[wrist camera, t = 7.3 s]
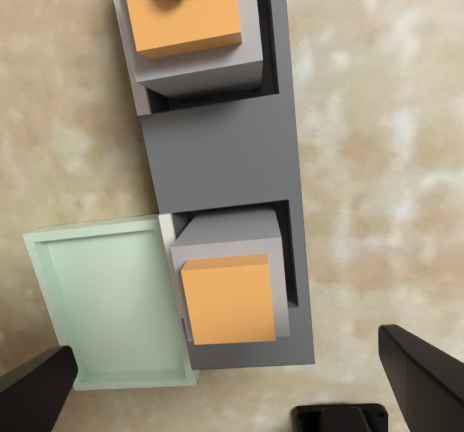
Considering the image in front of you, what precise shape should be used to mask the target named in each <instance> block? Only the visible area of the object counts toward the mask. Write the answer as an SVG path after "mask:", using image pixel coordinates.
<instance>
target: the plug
mask: <svg viewBox="0 0 464 432" xmlns="http://www.w3.org/2000/svg"><path fill="white" fill-rule="evenodd" d="M170 248H171V254H172V259H173V264H174V269H175V275H176V280H177V285H178V290H179V295H180V301H181V306H182V311H183V316H184V322H185V327H186V332H187V337H188V341H194V344H195V345H201V344H221V343H241V342H261V341H276V337H282V336H290V329H289V317H288V306H287V295H286V283H285V272H284V260H283V249H282V238H281V233H280V229H279V225H278V221H277V217H276V213H275V210H274V206H273V203H272V204H263V205H253V206H243V207H234V208H224V209H215V210H205V211H199V212H198V214H197V215H196V216H195V217H194V219H193V220H192V221H191V222H190V223H189V225H188V226H187V227H186V228H185V230H184V231H183V232H182V233H181V235H180V236H179V237H178V238H177V240H176V241H175V242H174V243H173V244H172V246H171V247H170Z"/></svg>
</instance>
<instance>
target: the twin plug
mask: <svg viewBox="0 0 464 432" xmlns="http://www.w3.org/2000/svg"><path fill="white" fill-rule="evenodd" d="M119 1H120V6H121V11H122V16H123V21H124V26H125V31H126V36H127V41H128V46H129V50H130V55H131V60H132V65H133V70H134V75H135V80H136V82H137V83H139V84H141V85H143V86H145V87H147V88H149V89H151V90H153V91H155V92H157V93H160V94H162V95H164V96H166V97H168V98H170V99H172V100H174V101H176V102H178V103H187V102H194V101H200V100H206V99H212V98H218V97H224V96H230V95H237V94H243V93H249V92H255V91H261V79H262V66H263V56H262V46H261V36H260V26H259V16H258V6H257V0H119Z"/></svg>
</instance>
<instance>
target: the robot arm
mask: <svg viewBox="0 0 464 432" xmlns="http://www.w3.org/2000/svg"><path fill="white" fill-rule="evenodd" d="M378 346H379V357H380V360H381V363H382V365H383V368H384V370H385V373H386V375H387V378H388V380H389V383H390V385H391V387H392V390H393V392H394V395H395V397H396V400H397V402H398V405H399V407H400V410H401V412H402V415H403V417H404V419H405V421H406V424H407V426H408V428H409V430H410V432H464V363H463V362H461V361H459V360H457V359H456V358H454V357H452V356H450V355H449V354H447V353H445V352H443V351H442V350H440V349H438V348H436V347H435V346H433V345H431V344H429V343H428V342H426V341H424V340H422V339H421V338H419V337H417V336H415V335H414V334H412V333H410V332H408V331H407V330H405V329H403V328H401V327H400V326H398V325H395V324H390V325H381V326H380V327H379V329H378ZM77 374H78V365H77V362H76V359H75V356H74V353H73V350H72V348H71V347H70V346H69V345H61V346H55V347H53V348H51V349H49V350H47V351H46V352H44V353H42V354H40V355H38V356H37V357H35V358H33V359H31V360H30V361H28V362H26V363H24V364H22V365H21V366H19V367H17V368H15V369H13V370H12V371H10V372H8V373H6V374H5V375H3V376H1V377H0V432H51V431H52V429H53V427H54V425H55V423H56V421H57V418H58V416H59V414H60V412H61V410H62V408H63V405H64V403H65V401H66V399H67V397H68V395H69V392H70V390H71V388H72V386H73V384H74V381H75V379H76V377H77ZM295 419H296V429H297V432H388V413H387V411H386V409H385V407H384V406H383V405H379V404H376V405H345V406H314V407H298V408H297V409H296V410H295Z"/></svg>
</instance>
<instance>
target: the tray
mask: <svg viewBox="0 0 464 432" xmlns="http://www.w3.org/2000/svg"><path fill="white" fill-rule="evenodd" d="M158 215H160V214H150V215H142V216H133V217H125V218H116V219H108V220H99V221H91V222H82V223H73V224H65V225H56V226H48V227H40V228H37V229H35V230H32V231H30V232H27V233H25V234H22V235H23V238H24V241H25V244H26V247H27V250H28V253H29V256H30V259H31V262H32V265H33V268H34V271H35V274H36V277H37V280H38V283H39V286H40V289H41V292H42V295H43V298H44V301H45V304H46V307H47V310H48V313H49V316H50V319H51V322H52V325H53V328H54V331H55V334H56V337H57V340H58V342H59V345H60V346H61V345H69V346H70V347H71V348H72V350H73V353H74V356H75V359H76V362H77V365H78V374H77V377H76V379H75V381H74V384H73V387H74V390H75V391H80V390H103V389H126V388H150V387H173V386H196V384H197V380H198V376H199V371H200V370H192V369H191V364H190V359H189V354H188V349H187V345H186V340H185V335H184V330H183V325H182V320H181V318H180V317H179V313H178V308H177V303H176V298H175V293H174V289H173V284H172V279H171V274H170V269H169V265H168V260H167V255H166V250H165V245H164V241H163V236H162V231H161V226H160V221H159V217H158Z"/></svg>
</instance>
